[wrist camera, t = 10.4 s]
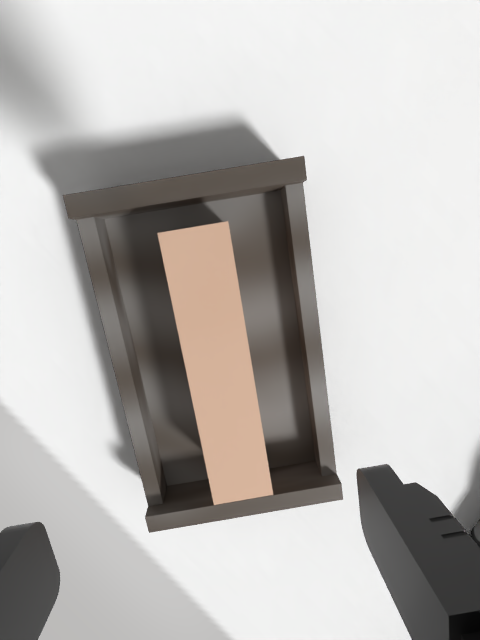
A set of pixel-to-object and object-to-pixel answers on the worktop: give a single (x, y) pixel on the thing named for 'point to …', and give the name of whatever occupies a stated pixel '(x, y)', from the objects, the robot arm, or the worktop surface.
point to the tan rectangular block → (217, 359)
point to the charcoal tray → (260, 320)
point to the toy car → (476, 533)
